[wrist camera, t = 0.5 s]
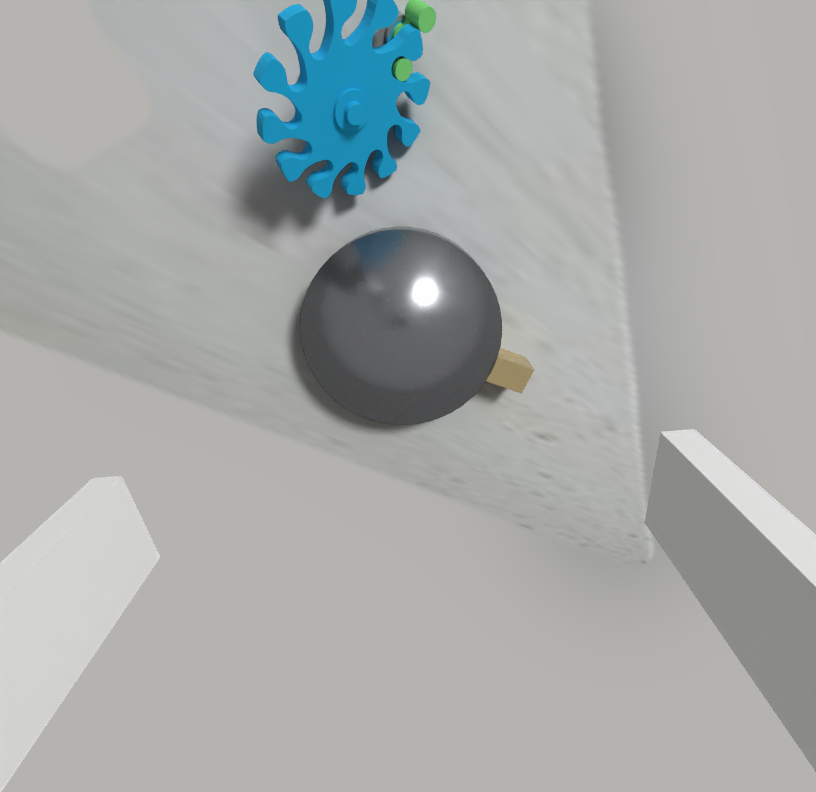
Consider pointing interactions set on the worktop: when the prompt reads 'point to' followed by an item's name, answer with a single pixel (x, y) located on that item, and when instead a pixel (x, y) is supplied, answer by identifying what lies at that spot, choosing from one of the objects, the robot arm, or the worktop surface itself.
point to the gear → (346, 90)
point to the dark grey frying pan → (405, 328)
